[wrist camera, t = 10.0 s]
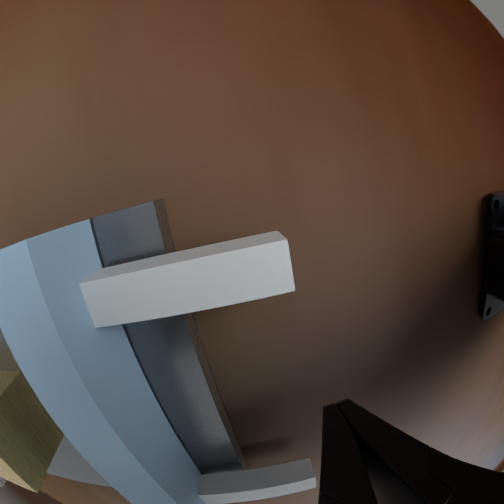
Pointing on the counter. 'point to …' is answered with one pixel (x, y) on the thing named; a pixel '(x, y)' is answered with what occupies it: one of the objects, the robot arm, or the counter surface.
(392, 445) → the robot arm
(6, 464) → the block
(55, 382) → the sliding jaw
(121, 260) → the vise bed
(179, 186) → the counter surface
